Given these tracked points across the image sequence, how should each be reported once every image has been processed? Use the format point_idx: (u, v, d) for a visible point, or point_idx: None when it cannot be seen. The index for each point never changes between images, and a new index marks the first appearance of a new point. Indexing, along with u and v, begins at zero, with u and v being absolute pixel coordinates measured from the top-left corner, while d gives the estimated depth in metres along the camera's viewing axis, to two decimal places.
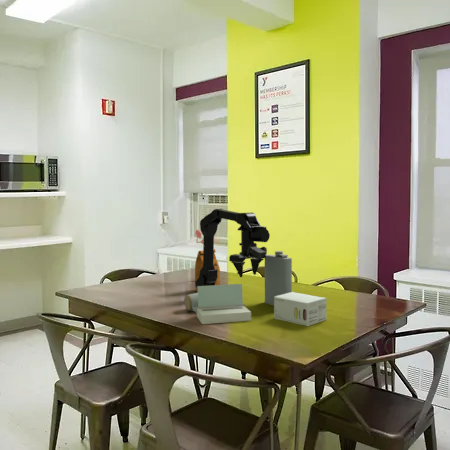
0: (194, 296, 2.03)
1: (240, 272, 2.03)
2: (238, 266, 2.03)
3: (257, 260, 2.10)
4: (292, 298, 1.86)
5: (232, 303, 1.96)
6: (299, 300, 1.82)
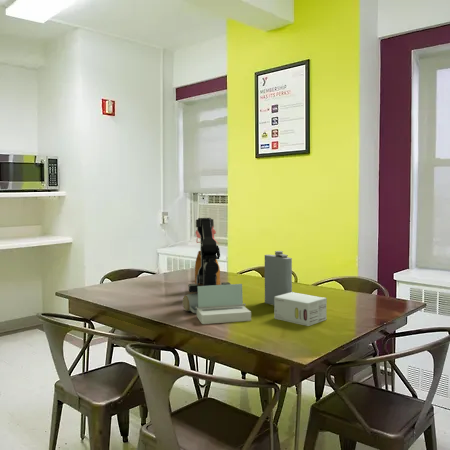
0: (192, 296, 2.02)
1: None
2: None
3: None
4: (292, 298, 1.85)
5: (232, 303, 1.96)
6: (299, 300, 1.82)
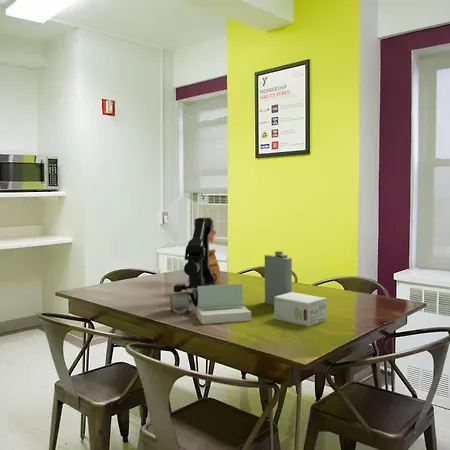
0: (176, 296, 2.02)
1: None
2: None
3: (195, 292, 2.05)
4: (292, 298, 1.85)
5: (232, 303, 1.96)
6: (300, 300, 1.82)
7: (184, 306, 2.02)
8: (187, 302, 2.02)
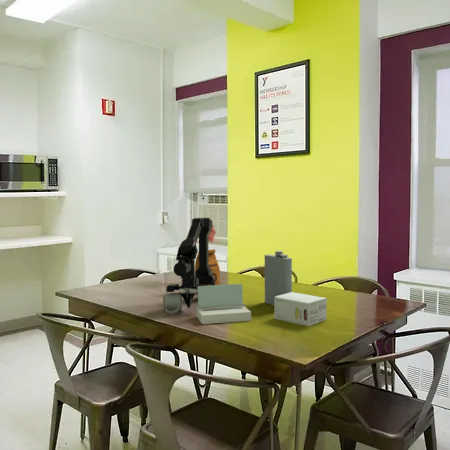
0: (169, 296, 2.03)
1: (191, 302, 2.04)
2: None
3: (188, 292, 2.05)
4: (292, 298, 1.85)
5: (232, 303, 1.96)
6: (300, 300, 1.82)
7: (176, 306, 2.02)
8: (179, 302, 2.01)
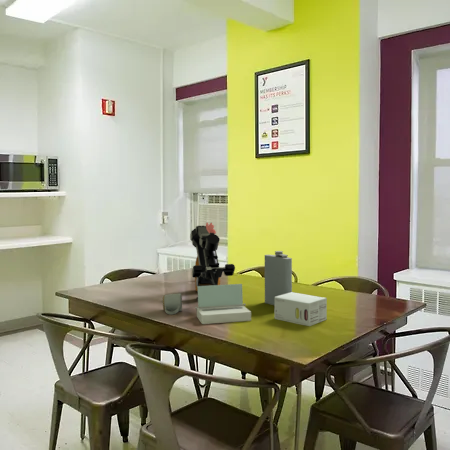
0: (169, 297, 2.02)
1: None
2: None
3: None
4: (293, 298, 1.85)
5: (232, 303, 1.96)
6: (300, 300, 1.82)
7: (176, 307, 2.01)
8: (179, 303, 2.01)
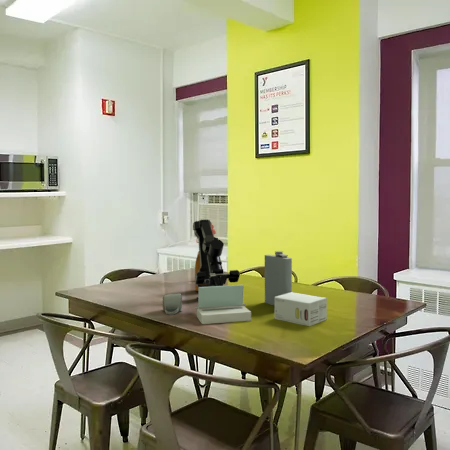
0: (169, 297, 2.02)
1: None
2: None
3: None
4: (293, 298, 1.85)
5: (232, 303, 1.96)
6: (300, 300, 1.82)
7: (176, 307, 2.01)
8: (179, 303, 2.00)
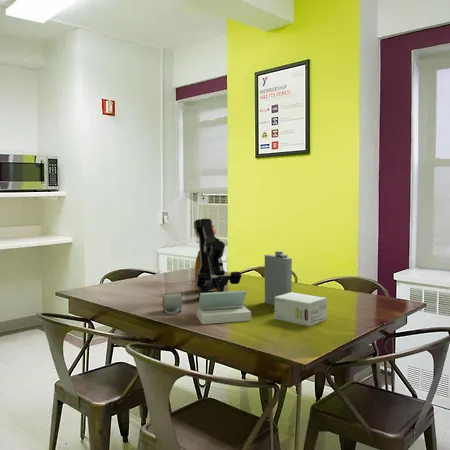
0: (169, 297, 2.01)
1: None
2: None
3: None
4: (293, 298, 1.85)
5: (232, 304, 1.96)
6: (300, 300, 1.82)
7: (176, 307, 2.00)
8: (179, 303, 2.00)
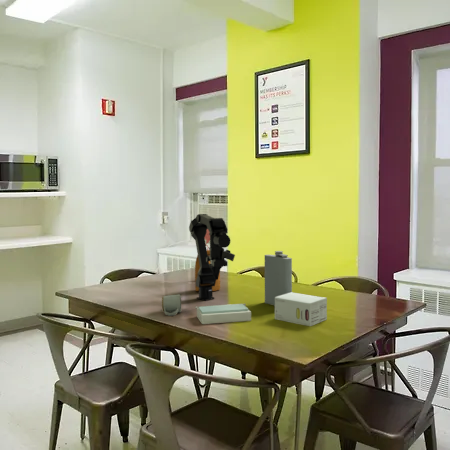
0: (168, 298, 2.00)
1: (217, 275, 2.12)
2: (215, 269, 2.11)
3: None
4: (293, 298, 1.85)
5: None
6: (301, 300, 1.82)
7: (175, 308, 1.99)
8: (178, 304, 1.99)
